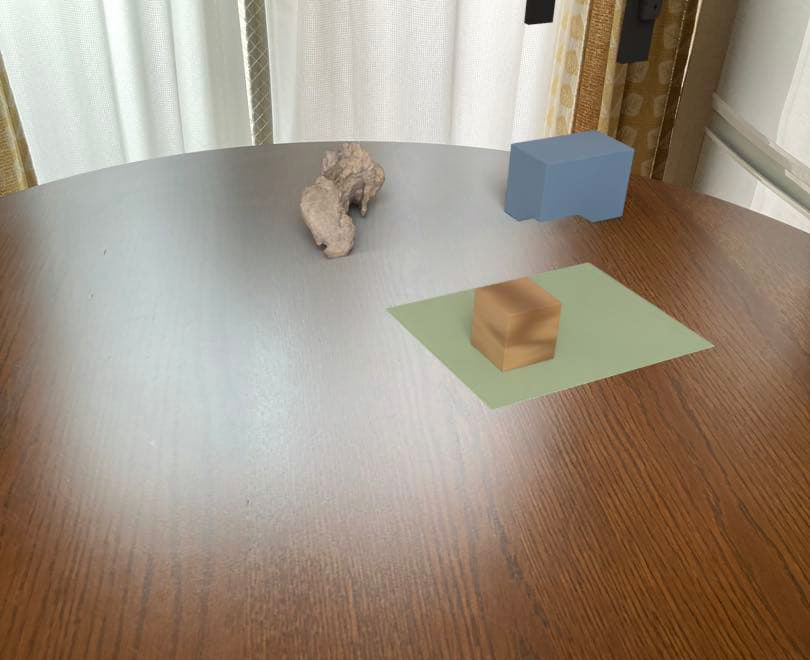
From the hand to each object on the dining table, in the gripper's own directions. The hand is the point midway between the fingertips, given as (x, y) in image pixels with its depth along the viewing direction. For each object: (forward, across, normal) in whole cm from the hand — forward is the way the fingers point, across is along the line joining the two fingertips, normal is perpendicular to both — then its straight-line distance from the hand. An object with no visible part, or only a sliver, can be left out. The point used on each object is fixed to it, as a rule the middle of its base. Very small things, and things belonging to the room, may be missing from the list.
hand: (582, 41), depth 80 cm
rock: (+16, -6, -20) cm, 26 cm away
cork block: (+14, +22, -20) cm, 33 cm away
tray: (+15, +20, -15) cm, 30 cm away
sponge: (+16, 0, +1) cm, 16 cm away
